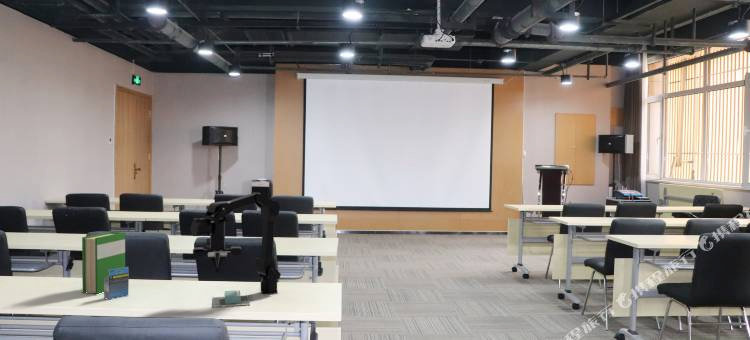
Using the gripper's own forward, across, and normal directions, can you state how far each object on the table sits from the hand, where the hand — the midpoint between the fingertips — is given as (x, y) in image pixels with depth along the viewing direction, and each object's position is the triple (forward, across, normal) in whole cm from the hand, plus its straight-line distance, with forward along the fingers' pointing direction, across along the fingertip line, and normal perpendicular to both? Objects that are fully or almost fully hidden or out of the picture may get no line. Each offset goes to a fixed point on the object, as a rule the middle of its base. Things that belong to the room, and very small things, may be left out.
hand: (217, 272), depth 237 cm
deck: (+10, -3, 0) cm, 10 cm away
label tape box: (+12, +40, -19) cm, 46 cm away
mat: (+12, -6, 0) cm, 13 cm away
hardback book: (+12, +47, -34) cm, 59 cm away
